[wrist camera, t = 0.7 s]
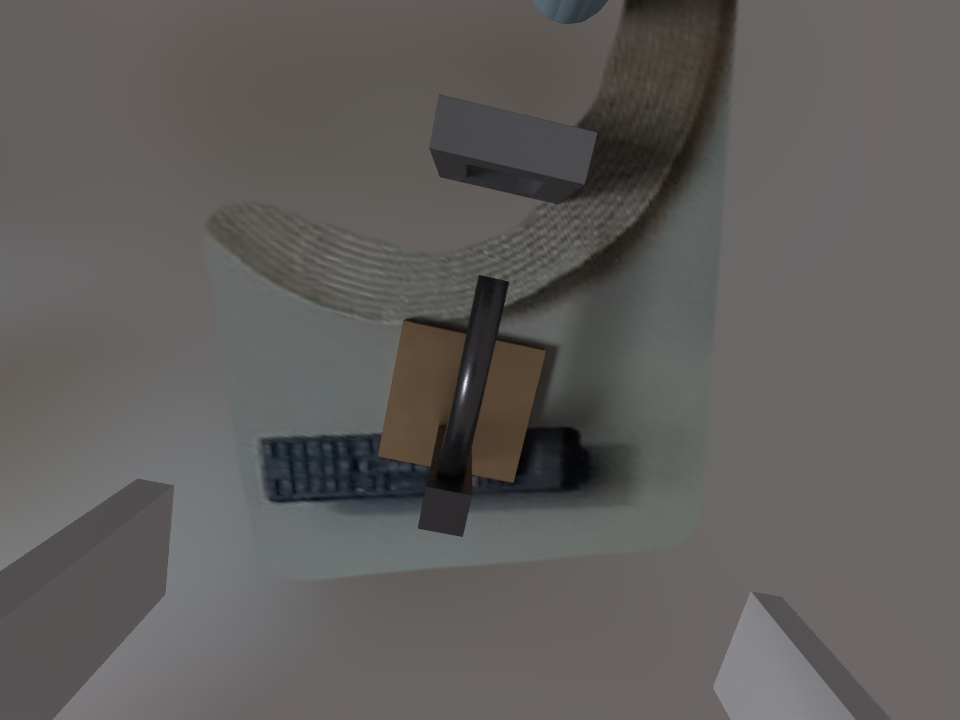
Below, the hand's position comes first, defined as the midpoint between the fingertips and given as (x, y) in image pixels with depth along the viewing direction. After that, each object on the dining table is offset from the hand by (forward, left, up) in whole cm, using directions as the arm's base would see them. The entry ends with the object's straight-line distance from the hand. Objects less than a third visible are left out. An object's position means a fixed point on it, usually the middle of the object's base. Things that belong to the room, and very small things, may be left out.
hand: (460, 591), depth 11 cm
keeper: (0, 0, -24) cm, 24 cm away
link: (-14, -1, -24) cm, 27 cm away
